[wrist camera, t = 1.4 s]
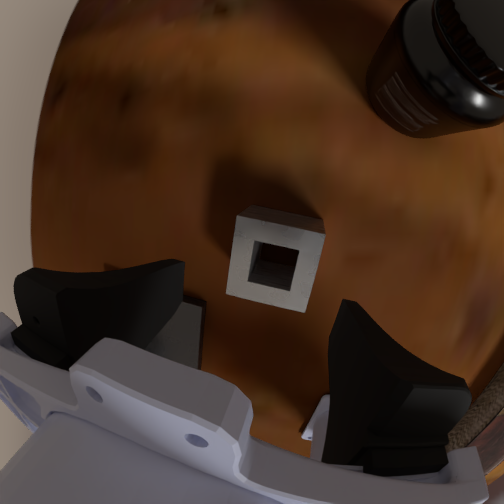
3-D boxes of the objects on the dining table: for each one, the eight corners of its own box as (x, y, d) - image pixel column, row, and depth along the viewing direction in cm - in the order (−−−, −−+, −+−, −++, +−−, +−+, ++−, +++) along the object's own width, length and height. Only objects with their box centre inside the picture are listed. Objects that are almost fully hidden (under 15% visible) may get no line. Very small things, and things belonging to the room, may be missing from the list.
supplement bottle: (459, 136, 14) (579, 130, 3) (378, 144, 16) (473, 123, 5) (433, 49, 12) (516, -21, 1) (351, 52, 14) (385, -58, 3)
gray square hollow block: (323, 219, 18) (325, 234, 15) (307, 285, 20) (304, 312, 16) (252, 204, 19) (236, 215, 16) (241, 270, 21) (225, 293, 17)
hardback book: (465, 470, 25) (470, 489, 21) (391, 477, 28) (392, 502, 23) (568, 349, 15) (583, 367, 11) (515, 337, 18) (536, 364, 13)
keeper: (206, 301, 22) (186, 327, 19) (200, 369, 25) (185, 396, 22) (110, 271, 24) (83, 288, 20) (117, 337, 27) (96, 357, 23)
